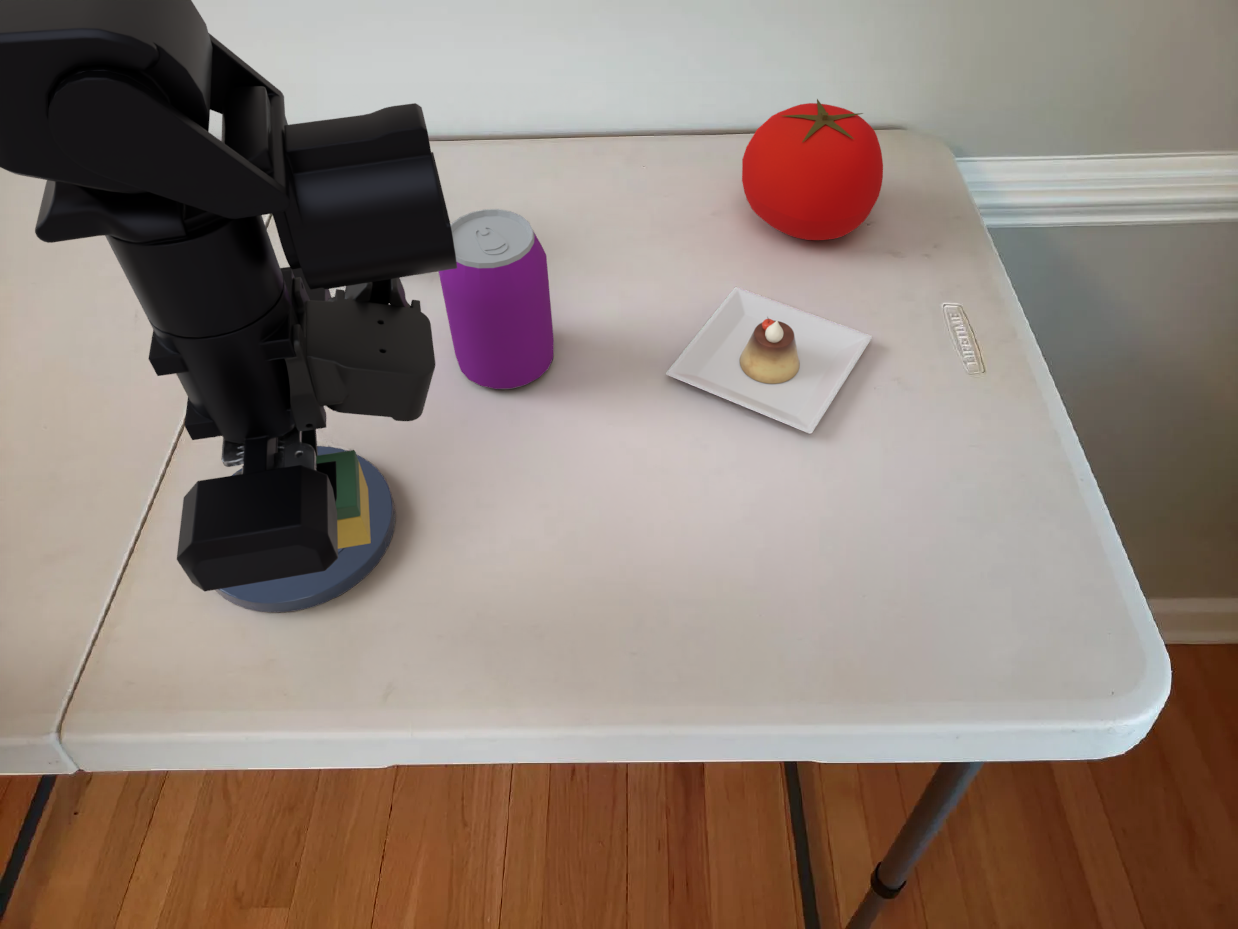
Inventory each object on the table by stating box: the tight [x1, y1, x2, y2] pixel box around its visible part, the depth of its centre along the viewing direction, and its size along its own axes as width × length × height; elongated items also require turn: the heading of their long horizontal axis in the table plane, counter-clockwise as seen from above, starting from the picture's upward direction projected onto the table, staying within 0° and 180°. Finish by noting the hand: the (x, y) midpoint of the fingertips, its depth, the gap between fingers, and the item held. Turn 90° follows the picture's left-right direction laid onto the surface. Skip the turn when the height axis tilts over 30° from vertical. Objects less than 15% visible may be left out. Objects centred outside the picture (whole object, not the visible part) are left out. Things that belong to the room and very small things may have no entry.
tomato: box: [741, 98, 884, 241], centre depth 80 cm, size 12×12×10 cm
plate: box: [214, 445, 396, 613], centre depth 62 cm, size 13×13×1 cm
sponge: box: [316, 449, 371, 549], centre depth 51 cm, size 6×4×4 cm, turn 102°
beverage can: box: [438, 208, 555, 390], centre depth 68 cm, size 8×8×12 cm
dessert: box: [665, 286, 873, 434], centre depth 70 cm, size 12×12×5 cm
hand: (310, 513), depth 51 cm, fingers closed on sponge, 4 cm apart
